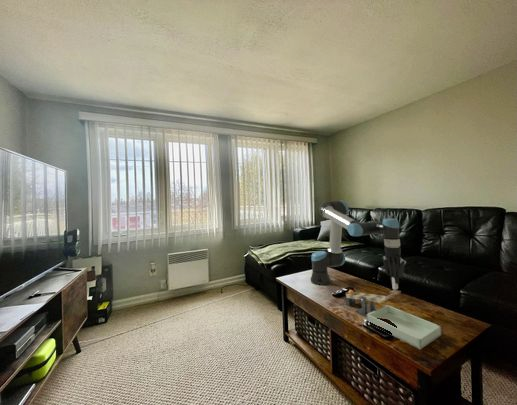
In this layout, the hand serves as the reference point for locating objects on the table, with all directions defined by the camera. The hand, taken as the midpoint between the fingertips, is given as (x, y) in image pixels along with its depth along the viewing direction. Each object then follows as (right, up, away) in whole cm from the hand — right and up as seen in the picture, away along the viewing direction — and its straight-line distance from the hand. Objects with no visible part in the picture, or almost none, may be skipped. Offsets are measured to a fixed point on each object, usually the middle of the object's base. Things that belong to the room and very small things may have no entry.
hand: (395, 288), depth 115 cm
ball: (-20, -7, +10) cm, 23 cm away
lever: (-10, -7, +5) cm, 13 cm away
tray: (-7, -13, -15) cm, 21 cm away
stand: (-17, -14, +4) cm, 22 cm away
